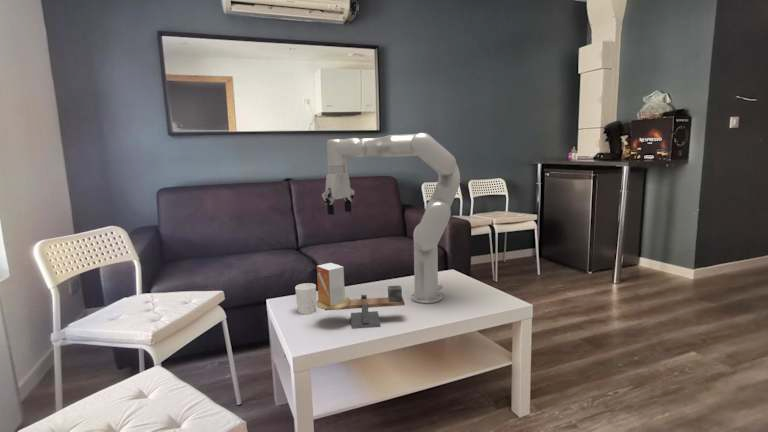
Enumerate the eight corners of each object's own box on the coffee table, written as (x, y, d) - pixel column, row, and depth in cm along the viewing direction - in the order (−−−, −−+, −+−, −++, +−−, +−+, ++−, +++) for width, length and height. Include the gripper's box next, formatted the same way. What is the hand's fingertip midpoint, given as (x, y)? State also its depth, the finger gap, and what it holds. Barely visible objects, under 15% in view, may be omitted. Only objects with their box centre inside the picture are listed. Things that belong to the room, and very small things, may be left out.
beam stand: (377, 313, 154) (377, 293, 153) (380, 326, 142) (379, 304, 141) (351, 315, 153) (350, 294, 152) (351, 328, 142) (350, 306, 140)
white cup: (307, 316, 154) (306, 290, 152) (292, 312, 158) (290, 287, 157) (321, 309, 160) (320, 284, 159) (306, 306, 165) (305, 282, 163)
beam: (401, 298, 154) (400, 282, 153) (405, 310, 142) (405, 292, 142) (317, 303, 152) (316, 287, 151) (315, 315, 140) (314, 298, 139)
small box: (318, 301, 147) (316, 265, 145) (332, 296, 151) (331, 262, 149) (330, 306, 141) (328, 269, 139) (345, 302, 145) (344, 266, 143)
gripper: (346, 169, 173) (348, 209, 175) (314, 171, 160) (317, 215, 162) (359, 169, 168) (361, 210, 171) (328, 171, 155) (330, 216, 158)
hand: (339, 212), depth 166 cm, fingers open, 9 cm apart
